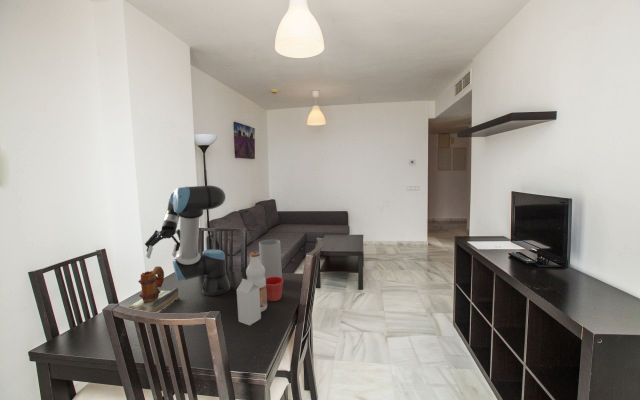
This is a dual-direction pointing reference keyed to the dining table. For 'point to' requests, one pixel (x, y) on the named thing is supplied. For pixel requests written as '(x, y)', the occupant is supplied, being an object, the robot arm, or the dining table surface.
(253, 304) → the milk carton
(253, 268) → the fruit juice
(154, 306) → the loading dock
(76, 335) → the dining table surface
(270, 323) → the dining table surface
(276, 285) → the flower pot
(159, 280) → the mug
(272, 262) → the cylinder vase
